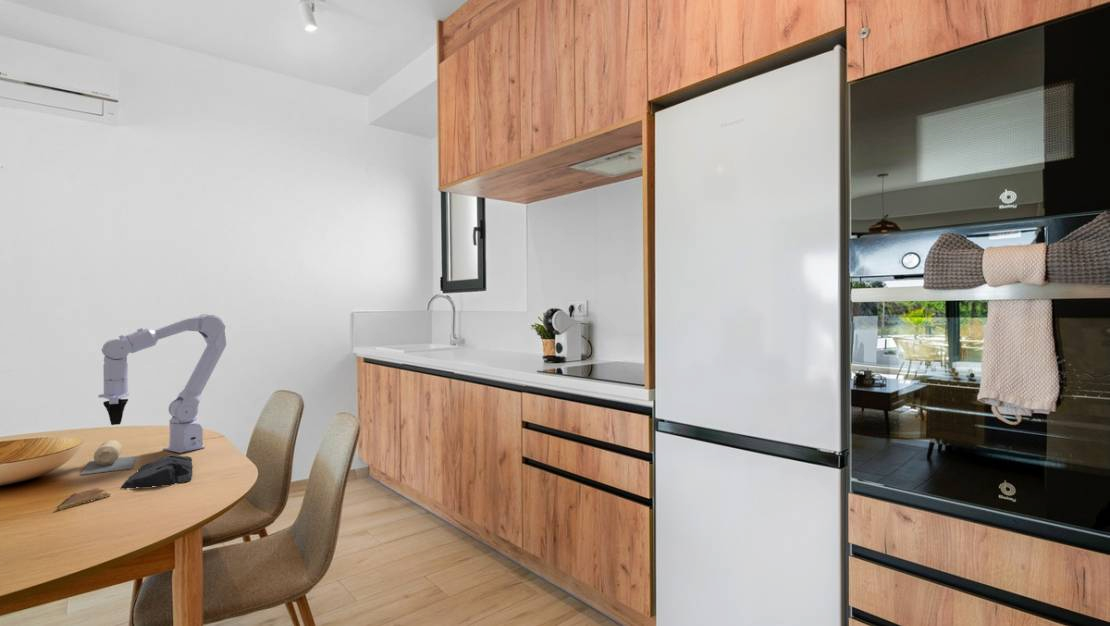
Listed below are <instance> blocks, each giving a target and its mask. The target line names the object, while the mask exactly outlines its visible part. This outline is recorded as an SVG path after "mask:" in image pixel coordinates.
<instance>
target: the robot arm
mask: <svg viewBox="0 0 1110 626" xmlns="http://www.w3.org/2000/svg"><path fill="white" fill-rule="evenodd" d="M225 330H226V325H225V323H224V322H223V320H222V319H221V317H219V316H218V315H215V314H200V315H198V316H197V315H196V316H191V317H187V318H184V319H181V320H178V321H175V322H173V323H170V324H168V325H165V326H162V327H160V328H156V329H150V328H148V327H147V328H142V327H141V328H138V329H137V330H136V331H135V332H132V333H129V334H125V335H124V334H121V335H119V336H118V339H117V338H112V339H109V340H106V342H105V343H104V344H103V345H102V348H101V353H102V354H103V355H104V356H103V357H104V358H103V393H100V394H98V398H103V399H106V400H105V401H103V403H102V404H103V406H104V407H105V409H106V411H107V413H108V416H109V417H108V418H109V422H110V425H111V426H115V425H116V426H117V425H121V423H122V422H123V421H122V419H123V415H124V411H125V407H126V405H127V403H128V402H129V398H127V397H128V396H129V395H130V394H129V393H130V392H129V375H128V373H129V372H128V371H129V363H128V355H129V354H130V353H131V354H134V353H137V352H140V351H143V350H146V349H149V348H152V347H154V346H156V344H157V343H158V341H159V340H161V339H165V338H169V337H172V336H174V335H178V334H180V333H183V332H186V331H188V332H189V331H190V332H197V333H199V334H200V335H201V336H202V337H203V339H204V341H205V343H206V347H205V348H204V351H203V353H202V354H201V356H200V358H199V360H198V362H197V363H196V366H194V370H193V372H192V373H191V374H190V377H189V379H188V381H187V382H186V385H185V386H184V389H182V391H181V392H180V393H178V395H177V397H176V399H174V400H173V401H171V402H170V403H169V406H168V413H169V415H171V416H172V417H171V419H169V445H168V446H164V447H162V450H166V451H169V452H175V453H178V454H179V453H180V454H182V453H186V452H190V451H194V450H199V449H204V448H206V445H204V444H203V443H204V442H203V440H204V439H203V438H204V437H203V433H204V432H203V427H202V425H201V424H200V423H198V422H197V415H198V412H199V411H198V410H199V408H198V407H199V404H200V402H201V396H202V393H203V391H204V389H205V387H206V385H207V383H208V381H209V380H210V377H211V375H212V374H213V371H214V370H215V368H216V365H217V364H218V362H219V361H220V358H221V357H222V354H223V353H224V350H225V348H226V346H227V339H226V331H225Z"/></svg>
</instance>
